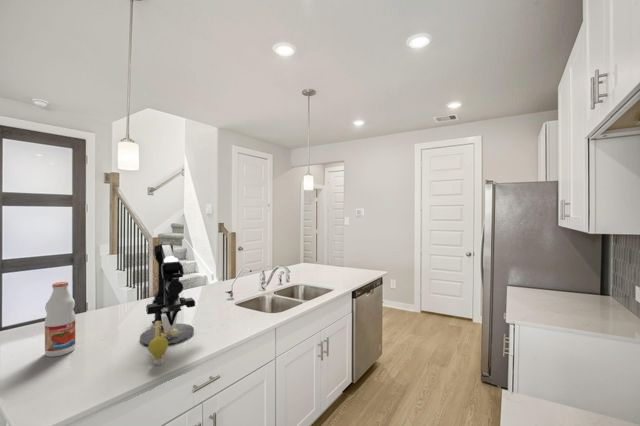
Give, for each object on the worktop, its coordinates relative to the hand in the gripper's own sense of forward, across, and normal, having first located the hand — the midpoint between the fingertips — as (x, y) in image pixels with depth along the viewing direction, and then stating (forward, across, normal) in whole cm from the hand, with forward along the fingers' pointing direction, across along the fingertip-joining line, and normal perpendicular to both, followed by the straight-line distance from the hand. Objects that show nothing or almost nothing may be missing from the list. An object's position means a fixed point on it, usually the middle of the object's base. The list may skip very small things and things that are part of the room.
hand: (171, 325), depth 131 cm
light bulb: (+8, -7, -17) cm, 20 cm away
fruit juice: (+8, -38, +16) cm, 42 cm away
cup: (+6, 0, +8) cm, 10 cm away
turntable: (+8, 0, +8) cm, 11 cm away
